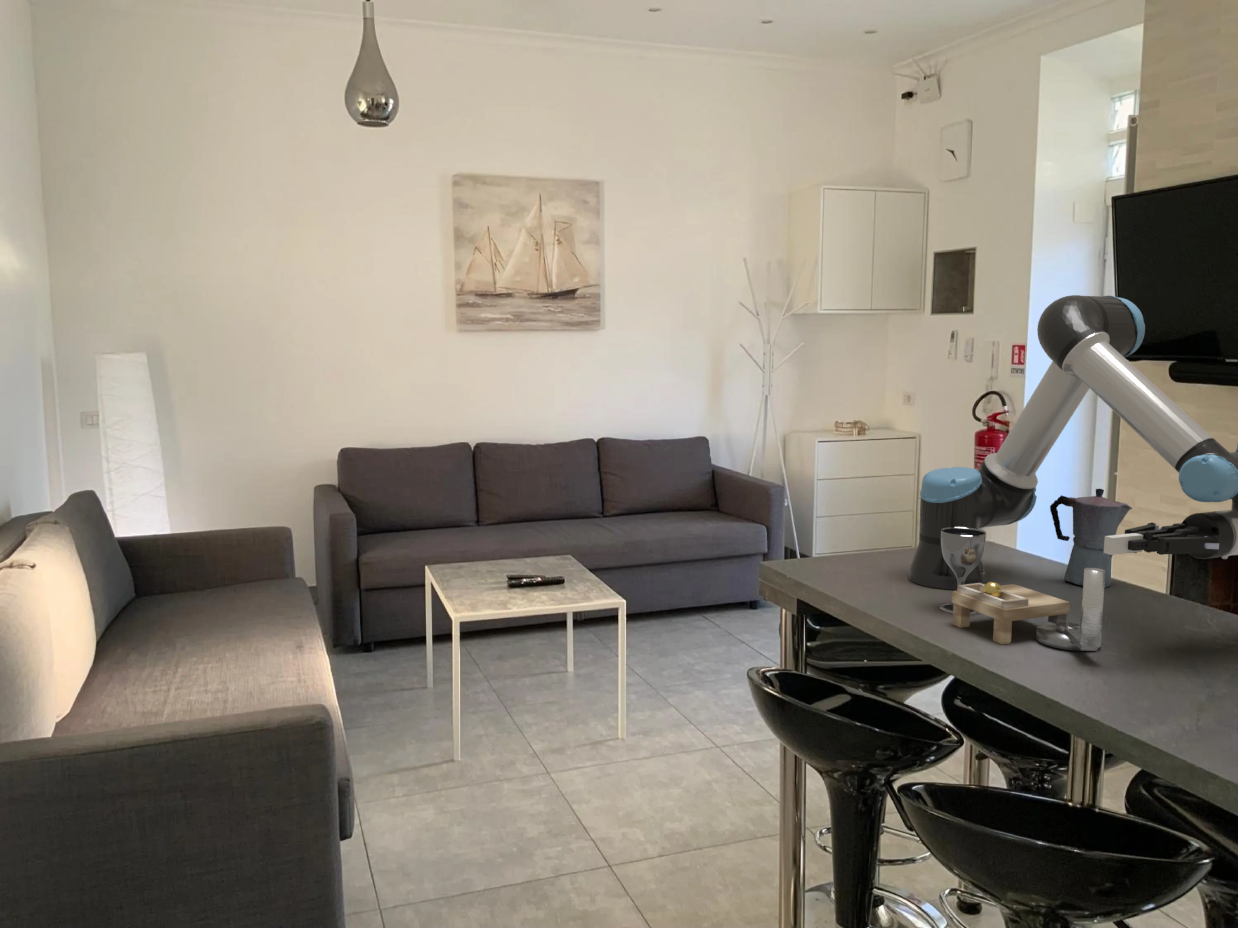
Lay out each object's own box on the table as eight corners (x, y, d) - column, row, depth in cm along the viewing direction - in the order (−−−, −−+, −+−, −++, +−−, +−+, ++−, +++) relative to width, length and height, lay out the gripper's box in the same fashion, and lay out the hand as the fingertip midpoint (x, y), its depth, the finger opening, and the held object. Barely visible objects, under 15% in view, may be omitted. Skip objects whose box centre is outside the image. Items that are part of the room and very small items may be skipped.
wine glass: (944, 601, 192) (948, 525, 190) (987, 607, 187) (991, 530, 185) (931, 610, 185) (935, 532, 183) (975, 617, 181) (979, 537, 179)
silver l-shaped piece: (1028, 631, 172) (1033, 548, 170) (1089, 633, 171) (1094, 550, 169) (1058, 662, 156) (1064, 571, 154) (1125, 665, 154) (1132, 573, 152)
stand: (950, 623, 177) (952, 584, 176) (1011, 615, 182) (1014, 577, 181) (1003, 645, 165) (1006, 602, 164) (1067, 635, 170) (1070, 594, 169)
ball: (978, 597, 172) (979, 580, 172) (992, 595, 173) (993, 579, 173) (991, 601, 169) (992, 584, 169) (1004, 600, 170) (1005, 583, 170)
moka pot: (1132, 590, 200) (1140, 493, 197) (1051, 586, 203) (1057, 490, 200) (1119, 579, 209) (1125, 486, 206) (1041, 575, 212) (1047, 483, 209)
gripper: (1250, 565, 158) (1141, 579, 149) (1177, 548, 169) (1073, 559, 161) (1255, 519, 156) (1146, 530, 148) (1181, 505, 168) (1076, 514, 160)
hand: (1108, 545), depth 154 cm, fingers closed
